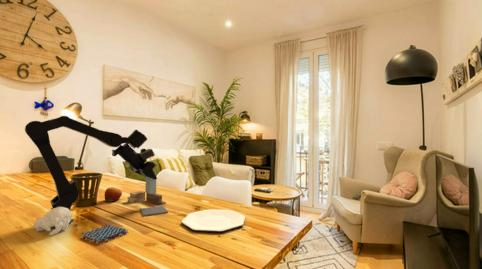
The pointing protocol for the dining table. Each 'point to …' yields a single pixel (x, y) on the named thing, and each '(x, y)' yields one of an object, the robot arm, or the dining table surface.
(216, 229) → the plate
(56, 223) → the animal skull
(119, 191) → the fruit
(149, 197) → the brown wooden block
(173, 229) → the dining table surface
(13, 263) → the dining table surface
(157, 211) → the felt pad
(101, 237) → the woven mat
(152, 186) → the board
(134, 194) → the offcut stack
